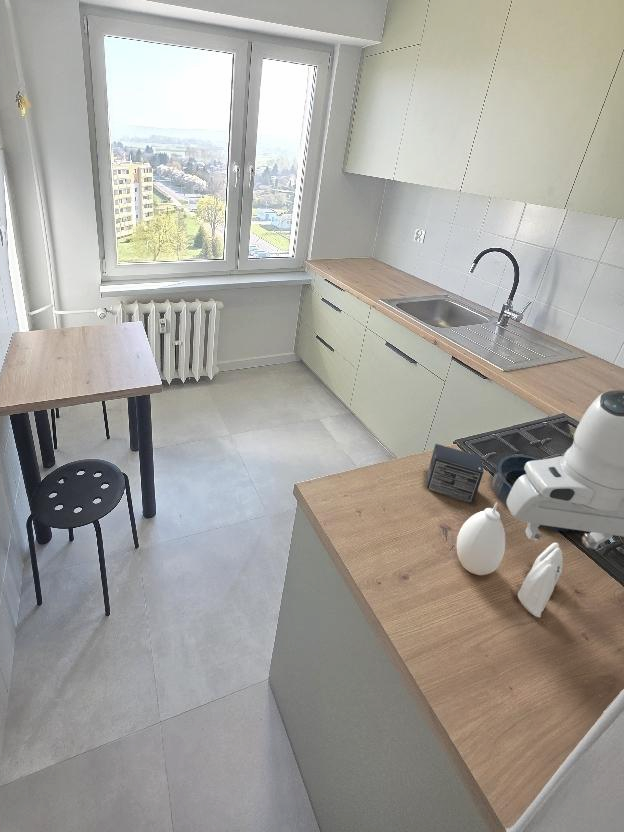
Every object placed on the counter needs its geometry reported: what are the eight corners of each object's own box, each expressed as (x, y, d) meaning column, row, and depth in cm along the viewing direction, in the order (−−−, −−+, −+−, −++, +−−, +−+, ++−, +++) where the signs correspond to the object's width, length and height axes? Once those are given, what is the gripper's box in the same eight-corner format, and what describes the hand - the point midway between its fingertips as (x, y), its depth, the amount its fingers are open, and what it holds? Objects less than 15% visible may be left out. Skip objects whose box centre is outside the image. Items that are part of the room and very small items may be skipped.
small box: (471, 487, 104) (482, 455, 100) (472, 506, 99) (485, 473, 94) (426, 473, 108) (435, 441, 104) (425, 491, 103) (435, 458, 98)
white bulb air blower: (454, 579, 82) (479, 513, 75) (447, 545, 89) (469, 482, 82) (498, 591, 80) (528, 524, 73) (487, 555, 87) (513, 491, 80)
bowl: (553, 477, 109) (561, 459, 106) (599, 539, 92) (610, 519, 89) (479, 468, 111) (486, 450, 108) (511, 527, 94) (519, 508, 91)
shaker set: (536, 625, 75) (557, 585, 70) (510, 607, 78) (529, 567, 73) (555, 583, 82) (576, 545, 78) (531, 568, 85) (550, 529, 80)
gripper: (644, 476, 70) (610, 534, 76) (516, 460, 72) (492, 517, 78) (675, 506, 64) (636, 567, 70) (534, 488, 66) (507, 547, 72)
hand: (559, 540), depth 74 cm, fingers open, 8 cm apart
